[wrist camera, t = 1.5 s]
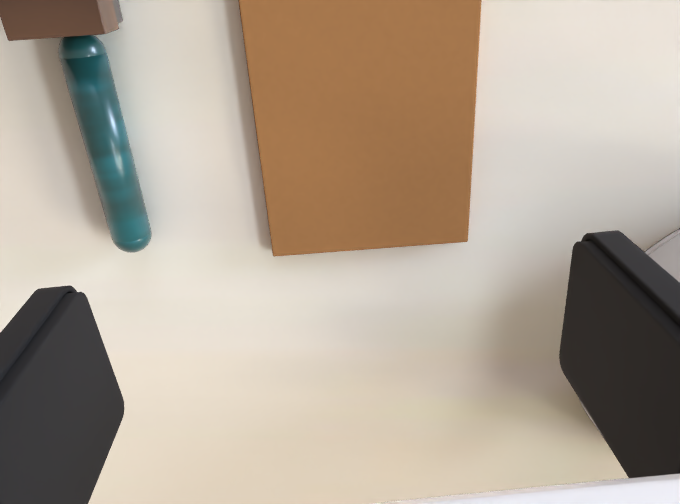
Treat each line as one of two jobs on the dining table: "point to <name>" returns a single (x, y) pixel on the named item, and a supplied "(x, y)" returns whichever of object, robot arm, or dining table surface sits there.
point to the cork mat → (363, 120)
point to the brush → (90, 101)
